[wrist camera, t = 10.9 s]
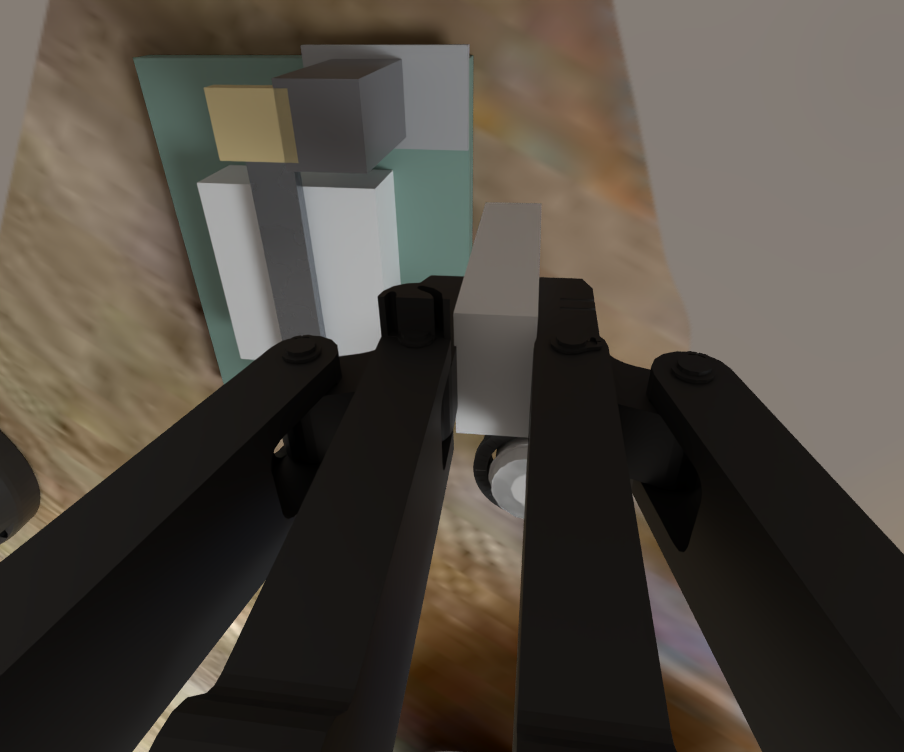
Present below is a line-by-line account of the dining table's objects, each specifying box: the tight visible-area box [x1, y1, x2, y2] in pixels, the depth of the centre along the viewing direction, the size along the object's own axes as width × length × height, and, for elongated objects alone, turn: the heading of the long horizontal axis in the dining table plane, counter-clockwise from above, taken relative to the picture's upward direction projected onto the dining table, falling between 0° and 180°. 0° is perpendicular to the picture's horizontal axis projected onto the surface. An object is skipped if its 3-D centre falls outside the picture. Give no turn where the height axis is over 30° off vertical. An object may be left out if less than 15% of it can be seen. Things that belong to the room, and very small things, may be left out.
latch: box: [204, 59, 406, 174], centre depth 23 cm, size 6×3×6 cm, turn 91°
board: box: [133, 44, 473, 384], centre depth 29 cm, size 15×18×4 cm
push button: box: [473, 435, 528, 519], centre depth 28 cm, size 7×5×10 cm
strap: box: [246, 162, 326, 341], centre depth 27 cm, size 3×16×1 cm, turn 1°
